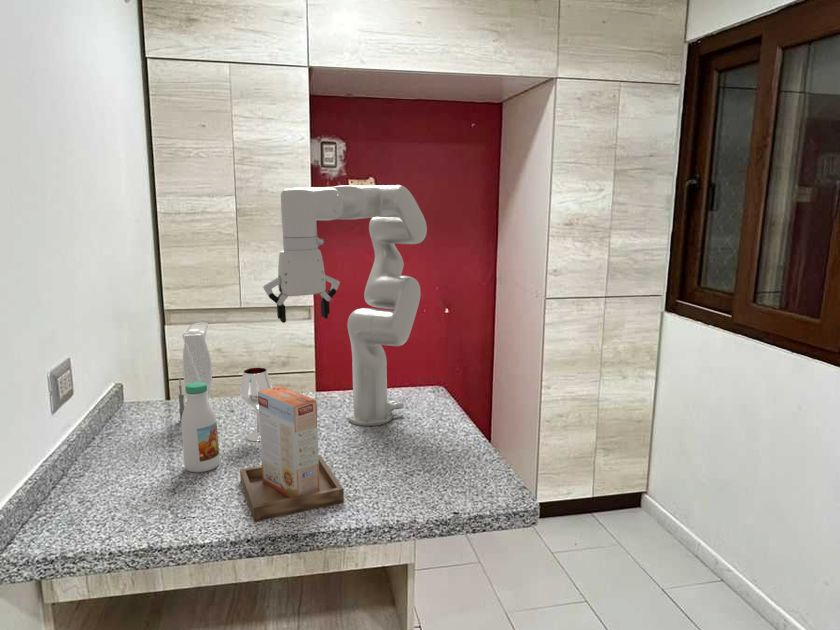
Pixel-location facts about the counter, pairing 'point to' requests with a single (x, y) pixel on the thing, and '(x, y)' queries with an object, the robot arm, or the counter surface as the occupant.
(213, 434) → the milk bottle
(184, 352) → the skyscraper
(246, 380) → the wineglass
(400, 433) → the counter surface
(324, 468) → the walnut tray
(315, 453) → the cracker box
